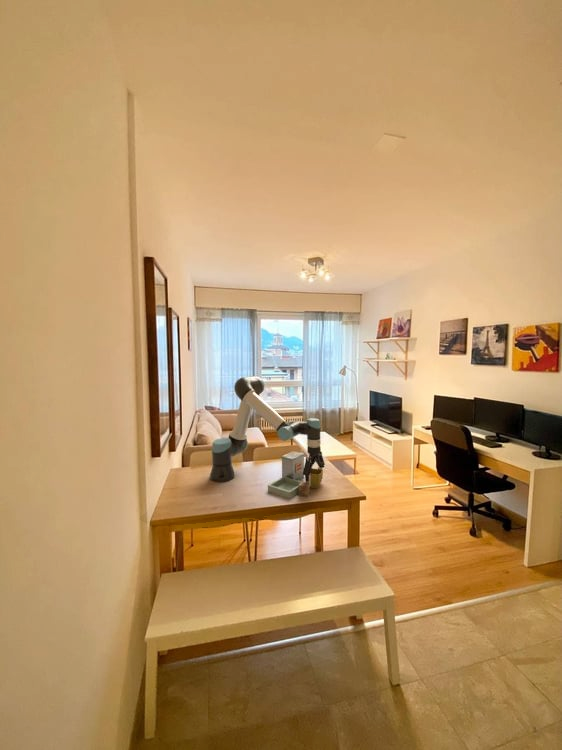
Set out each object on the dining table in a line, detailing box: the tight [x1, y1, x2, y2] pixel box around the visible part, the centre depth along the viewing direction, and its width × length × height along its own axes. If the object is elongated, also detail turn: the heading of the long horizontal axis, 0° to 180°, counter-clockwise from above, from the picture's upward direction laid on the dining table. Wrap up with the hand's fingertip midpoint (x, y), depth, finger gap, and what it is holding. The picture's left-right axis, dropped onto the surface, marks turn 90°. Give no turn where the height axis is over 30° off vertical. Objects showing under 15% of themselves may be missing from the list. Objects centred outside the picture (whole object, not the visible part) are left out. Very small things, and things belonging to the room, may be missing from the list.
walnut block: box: [298, 481, 311, 498], centre depth 165 cm, size 5×5×6 cm
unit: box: [280, 450, 305, 481], centre depth 186 cm, size 9×13×15 cm
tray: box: [267, 476, 302, 500], centre depth 171 cm, size 15×15×4 cm
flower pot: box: [309, 467, 324, 489], centre depth 175 cm, size 9×9×9 cm
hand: (314, 482), depth 175 cm, fingers open, 13 cm apart
